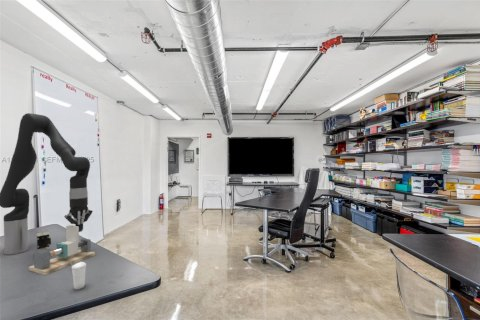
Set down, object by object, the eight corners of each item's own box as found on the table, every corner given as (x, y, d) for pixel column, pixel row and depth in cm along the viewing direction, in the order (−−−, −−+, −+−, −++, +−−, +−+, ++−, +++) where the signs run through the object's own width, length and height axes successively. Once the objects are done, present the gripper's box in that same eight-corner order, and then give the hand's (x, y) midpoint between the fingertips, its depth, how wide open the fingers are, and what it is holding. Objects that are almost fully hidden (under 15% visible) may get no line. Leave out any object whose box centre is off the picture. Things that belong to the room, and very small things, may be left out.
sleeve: (70, 250, 117) (69, 225, 117) (79, 252, 114) (78, 226, 114) (58, 254, 112) (58, 227, 112) (68, 256, 109) (67, 229, 109)
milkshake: (74, 284, 91) (74, 258, 90) (89, 283, 91) (88, 258, 91) (66, 291, 86) (66, 263, 86) (82, 290, 86) (81, 263, 86)
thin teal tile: (59, 255, 112) (59, 242, 112) (67, 257, 109) (67, 244, 109) (56, 256, 111) (56, 243, 111) (64, 258, 108) (64, 245, 108)
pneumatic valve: (37, 259, 114) (36, 235, 114) (36, 252, 123) (36, 230, 123) (52, 256, 118) (51, 232, 118) (50, 250, 127) (49, 227, 127)
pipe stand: (79, 251, 123) (79, 235, 123) (95, 255, 119) (95, 238, 119) (28, 270, 103) (28, 251, 103) (45, 275, 98) (44, 254, 98)
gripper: (86, 194, 125) (87, 227, 125) (59, 198, 113) (60, 234, 113) (96, 195, 122) (97, 228, 122) (69, 199, 110) (70, 236, 110)
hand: (79, 231), depth 118 cm, fingers closed
